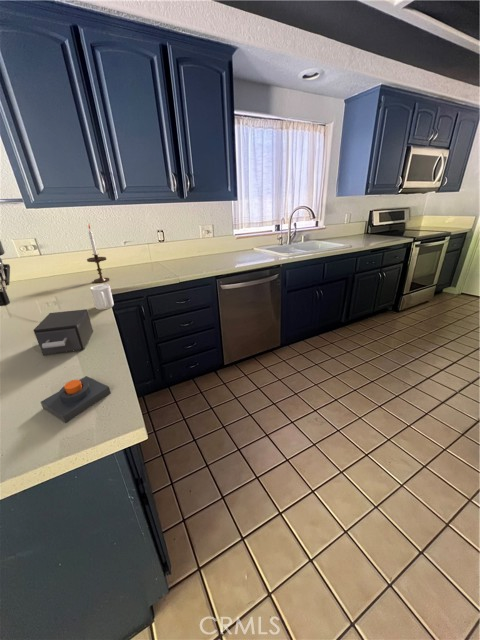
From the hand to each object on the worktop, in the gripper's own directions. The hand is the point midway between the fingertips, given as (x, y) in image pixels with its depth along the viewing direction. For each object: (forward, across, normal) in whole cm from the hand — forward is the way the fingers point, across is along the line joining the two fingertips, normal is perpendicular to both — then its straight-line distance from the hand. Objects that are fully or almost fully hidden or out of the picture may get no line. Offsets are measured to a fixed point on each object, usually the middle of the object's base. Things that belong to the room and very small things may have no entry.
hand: (4, 304), depth 69 cm
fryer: (+23, -20, +4) cm, 31 cm away
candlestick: (+23, -105, -1) cm, 108 cm away
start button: (+19, +15, +16) cm, 29 cm away
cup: (+23, -54, +10) cm, 59 cm away
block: (+23, +15, +16) cm, 31 cm away
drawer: (+22, -16, +4) cm, 28 cm away
